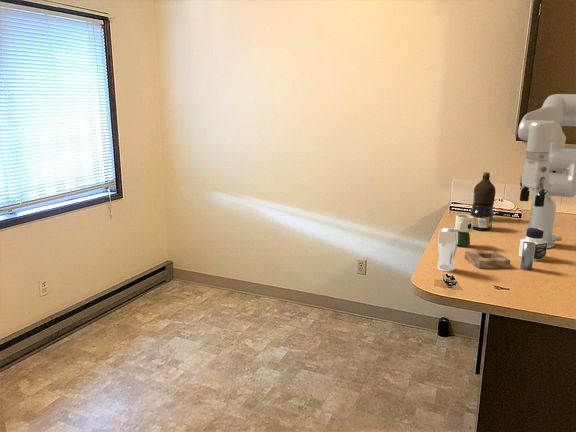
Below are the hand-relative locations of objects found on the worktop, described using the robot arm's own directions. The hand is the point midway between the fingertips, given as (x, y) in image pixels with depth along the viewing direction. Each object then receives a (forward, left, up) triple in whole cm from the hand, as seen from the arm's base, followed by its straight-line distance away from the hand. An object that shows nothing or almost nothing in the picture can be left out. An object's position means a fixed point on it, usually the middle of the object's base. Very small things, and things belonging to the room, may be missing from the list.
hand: (531, 203), depth 181 cm
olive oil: (-22, -77, -25) cm, 84 cm away
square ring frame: (+11, -6, -25) cm, 28 cm away
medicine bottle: (-11, -12, -25) cm, 30 cm away
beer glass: (+30, 0, -25) cm, 39 cm away
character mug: (+10, -30, -25) cm, 40 cm away
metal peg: (-1, +1, -25) cm, 25 cm away
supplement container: (-12, -58, -25) cm, 64 cm away
